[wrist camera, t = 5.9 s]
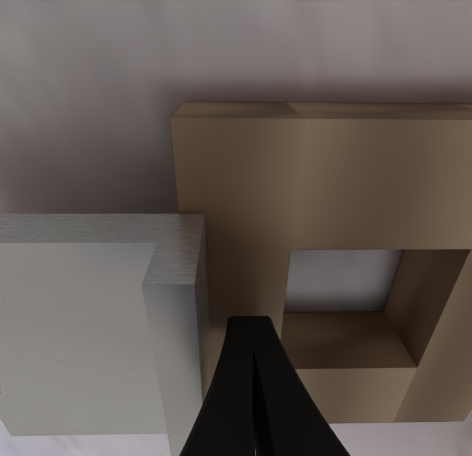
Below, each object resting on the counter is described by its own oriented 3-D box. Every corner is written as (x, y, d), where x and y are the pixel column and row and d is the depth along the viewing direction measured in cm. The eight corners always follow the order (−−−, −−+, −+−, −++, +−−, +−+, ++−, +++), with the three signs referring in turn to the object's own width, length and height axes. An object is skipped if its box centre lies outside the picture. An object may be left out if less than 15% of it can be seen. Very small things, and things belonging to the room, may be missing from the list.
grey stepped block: (204, 213, 9) (194, 284, 6) (212, 392, 12) (207, 483, 10) (-56, 213, 8) (-185, 285, 6) (34, 395, 12) (-18, 487, 10)
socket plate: (548, 104, 10) (657, 121, 8) (426, 363, 17) (463, 421, 14) (185, 101, 10) (169, 117, 7) (201, 366, 16) (197, 425, 14)
